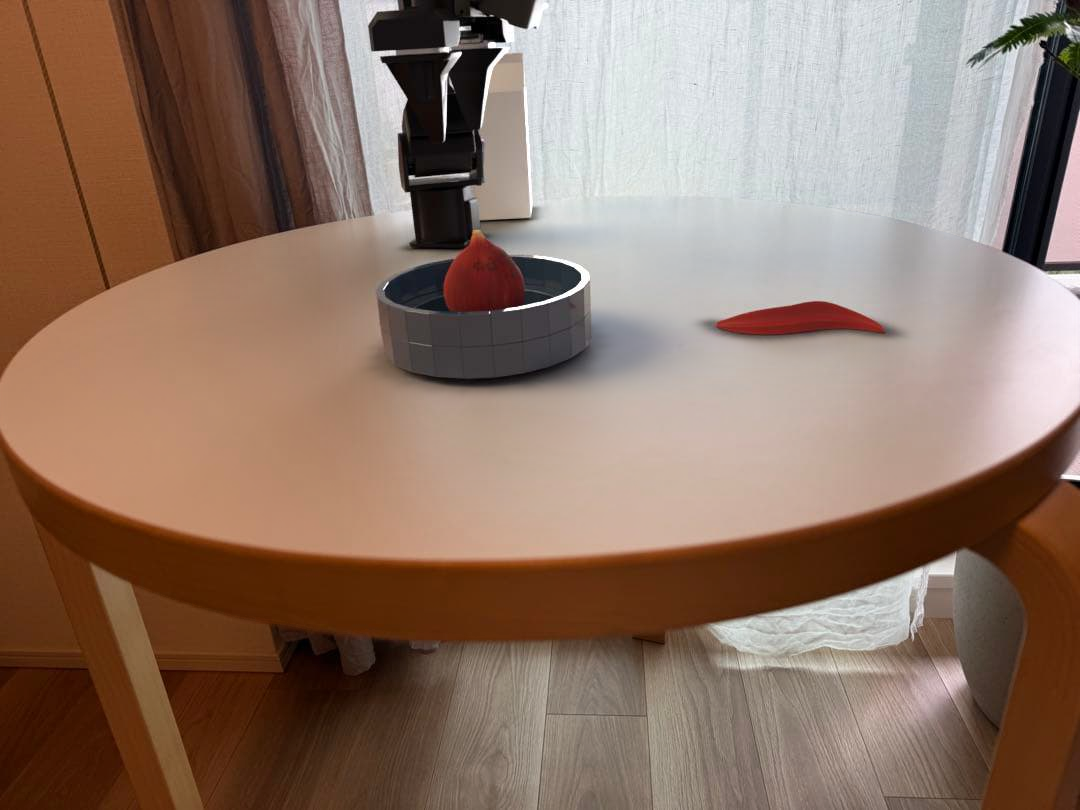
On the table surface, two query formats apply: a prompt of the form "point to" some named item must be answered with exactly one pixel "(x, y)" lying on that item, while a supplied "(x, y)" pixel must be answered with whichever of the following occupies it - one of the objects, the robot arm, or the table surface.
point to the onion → (483, 278)
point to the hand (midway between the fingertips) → (457, 135)
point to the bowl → (485, 322)
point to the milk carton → (505, 144)
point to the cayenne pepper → (799, 319)
